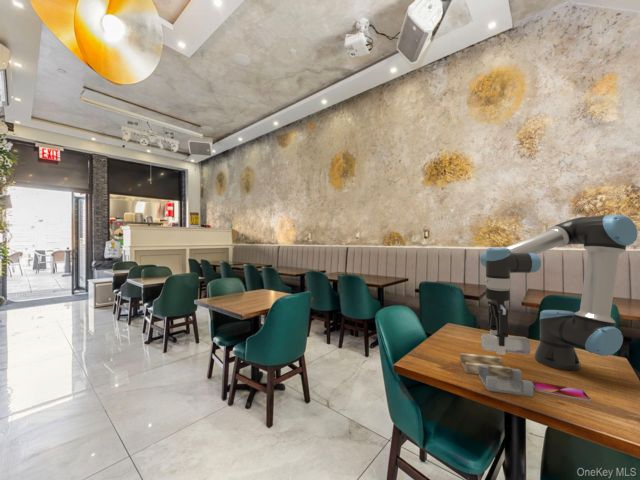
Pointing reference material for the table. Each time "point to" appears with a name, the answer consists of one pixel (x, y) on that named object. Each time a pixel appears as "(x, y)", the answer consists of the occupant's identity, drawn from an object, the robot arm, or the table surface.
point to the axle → (506, 344)
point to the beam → (494, 364)
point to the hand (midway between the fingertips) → (497, 350)
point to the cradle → (506, 382)
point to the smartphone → (561, 391)
